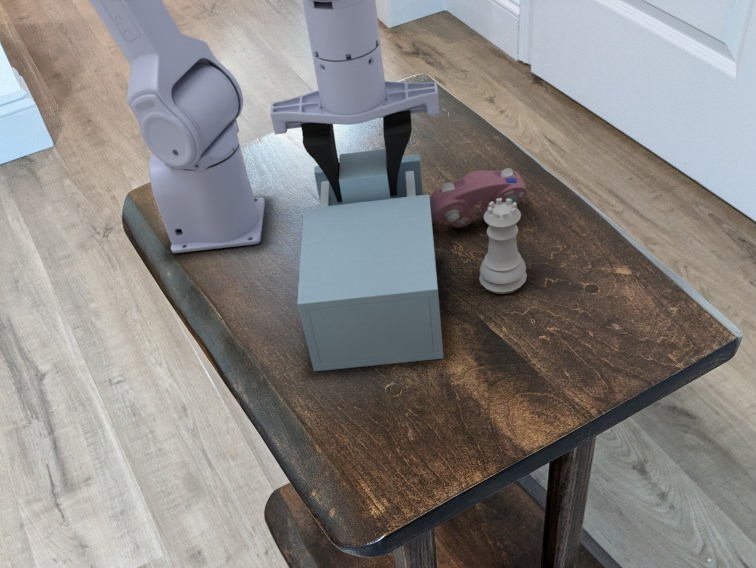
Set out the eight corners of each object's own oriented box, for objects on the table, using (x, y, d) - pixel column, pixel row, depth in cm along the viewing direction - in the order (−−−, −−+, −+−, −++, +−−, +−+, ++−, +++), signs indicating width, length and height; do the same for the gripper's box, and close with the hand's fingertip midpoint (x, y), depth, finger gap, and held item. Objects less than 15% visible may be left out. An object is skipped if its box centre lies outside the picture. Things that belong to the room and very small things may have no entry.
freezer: (318, 276, 85) (303, 208, 79) (435, 263, 84) (429, 193, 78) (313, 371, 77) (297, 304, 71) (443, 358, 76) (437, 288, 70)
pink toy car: (432, 248, 88) (436, 211, 81) (420, 209, 89) (423, 169, 82) (524, 225, 89) (536, 186, 82) (511, 186, 90) (522, 144, 83)
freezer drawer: (325, 193, 92) (315, 141, 88) (422, 181, 91) (417, 129, 87) (321, 294, 82) (310, 242, 77) (430, 282, 81) (425, 229, 76)
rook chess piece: (469, 283, 82) (465, 208, 75) (501, 260, 83) (501, 185, 77) (504, 302, 79) (503, 227, 73) (536, 278, 81) (539, 203, 75)
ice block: (346, 222, 81) (338, 180, 78) (346, 195, 84) (339, 154, 81) (392, 217, 81) (387, 174, 78) (391, 190, 84) (386, 148, 80)
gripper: (431, 11, 73) (441, 160, 83) (262, 34, 74) (293, 178, 84) (435, 50, 68) (445, 202, 79) (256, 74, 69) (290, 220, 80)
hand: (367, 193), depth 81 cm, fingers closed on ice block, 4 cm apart
